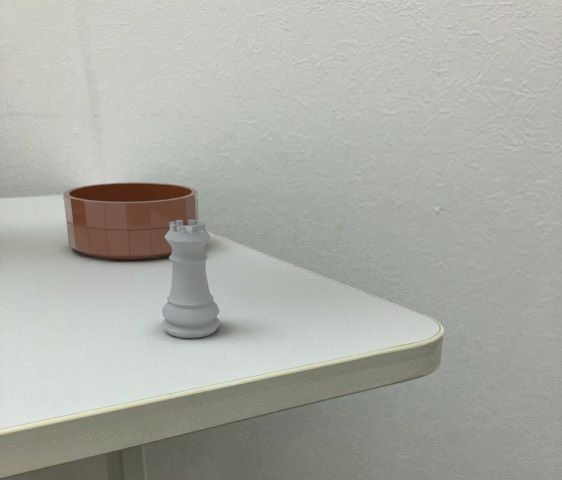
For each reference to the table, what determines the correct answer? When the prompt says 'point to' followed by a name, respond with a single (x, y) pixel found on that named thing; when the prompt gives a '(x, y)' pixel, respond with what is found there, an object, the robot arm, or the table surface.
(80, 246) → the bowl
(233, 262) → the table surface
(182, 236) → the rook chess piece
